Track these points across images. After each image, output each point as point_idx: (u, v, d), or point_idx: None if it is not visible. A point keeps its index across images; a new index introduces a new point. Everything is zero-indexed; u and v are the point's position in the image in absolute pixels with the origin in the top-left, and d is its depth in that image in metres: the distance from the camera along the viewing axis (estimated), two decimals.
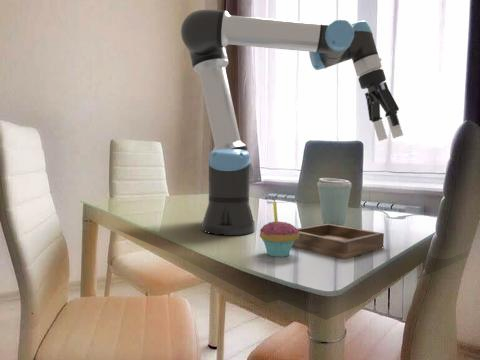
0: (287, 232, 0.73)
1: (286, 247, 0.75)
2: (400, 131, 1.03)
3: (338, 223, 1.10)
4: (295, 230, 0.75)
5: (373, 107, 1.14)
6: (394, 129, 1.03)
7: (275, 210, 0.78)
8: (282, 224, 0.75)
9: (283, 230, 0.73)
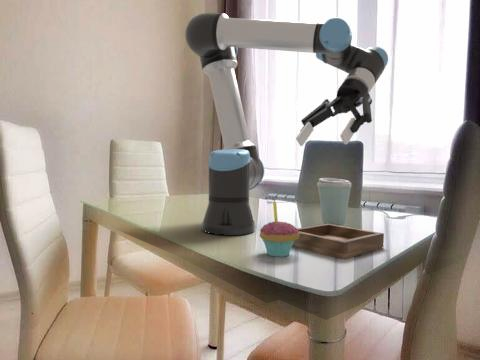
0: (287, 232, 0.73)
1: (286, 247, 0.75)
2: (348, 139, 0.84)
3: (338, 223, 1.10)
4: (295, 230, 0.75)
5: (325, 111, 0.96)
6: (348, 131, 0.84)
7: (275, 210, 0.78)
8: (282, 224, 0.75)
9: (283, 230, 0.73)
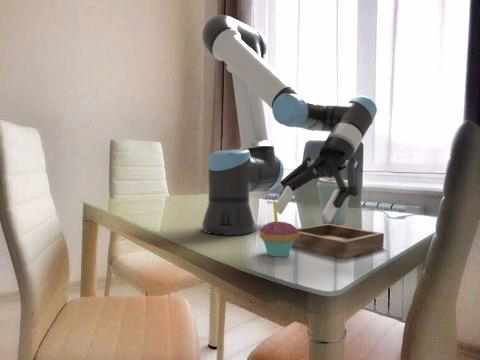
0: (287, 232, 0.73)
1: (286, 247, 0.75)
2: (331, 215, 0.73)
3: (338, 223, 1.10)
4: (295, 230, 0.75)
5: (307, 174, 0.85)
6: (330, 207, 0.73)
7: (275, 210, 0.78)
8: (282, 224, 0.75)
9: (283, 230, 0.73)
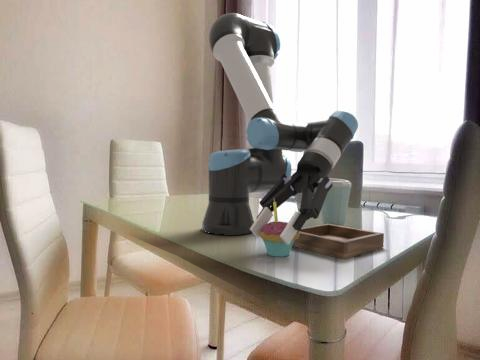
0: None
1: (286, 247, 0.75)
2: (290, 238, 0.72)
3: (338, 223, 1.10)
4: None
5: (285, 191, 0.81)
6: (289, 230, 0.72)
7: (275, 210, 0.78)
8: (282, 224, 0.75)
9: None
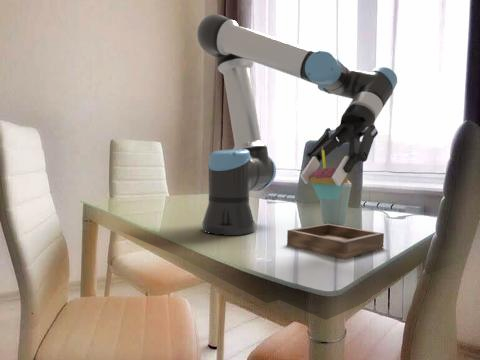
0: None
1: (336, 190, 0.80)
2: (341, 180, 0.77)
3: (338, 223, 1.10)
4: None
5: (331, 142, 0.87)
6: (340, 172, 0.77)
7: (323, 157, 0.83)
8: (331, 169, 0.80)
9: None
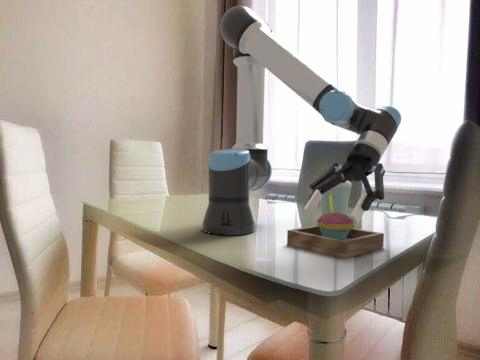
0: (345, 222, 0.81)
1: (343, 235, 0.82)
2: (359, 218, 0.79)
3: None
4: (351, 220, 0.83)
5: (335, 178, 0.90)
6: (358, 210, 0.79)
7: (331, 202, 0.86)
8: (339, 215, 0.83)
9: (341, 220, 0.81)
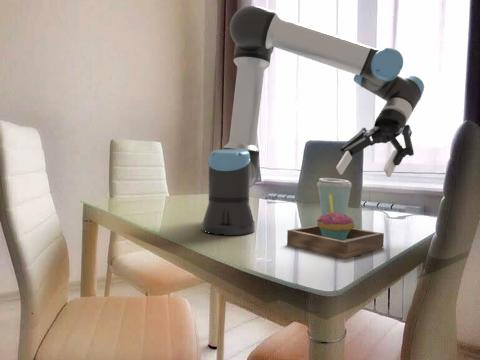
0: (345, 222, 0.81)
1: (343, 235, 0.82)
2: (391, 171, 0.86)
3: None
4: (351, 220, 0.83)
5: (364, 141, 0.98)
6: (391, 164, 0.86)
7: (331, 202, 0.86)
8: (339, 215, 0.83)
9: (341, 220, 0.81)
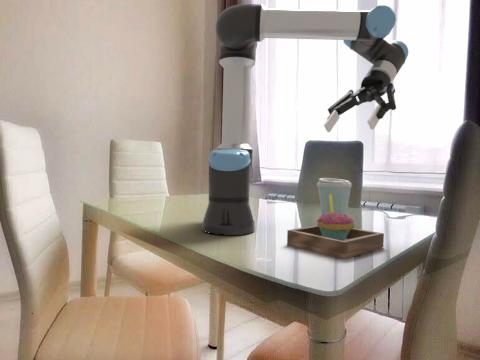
0: (345, 222, 0.81)
1: (343, 235, 0.82)
2: (375, 124, 0.92)
3: None
4: (351, 220, 0.83)
5: (351, 100, 1.03)
6: (374, 117, 0.91)
7: (331, 202, 0.86)
8: (339, 215, 0.83)
9: (341, 220, 0.81)
